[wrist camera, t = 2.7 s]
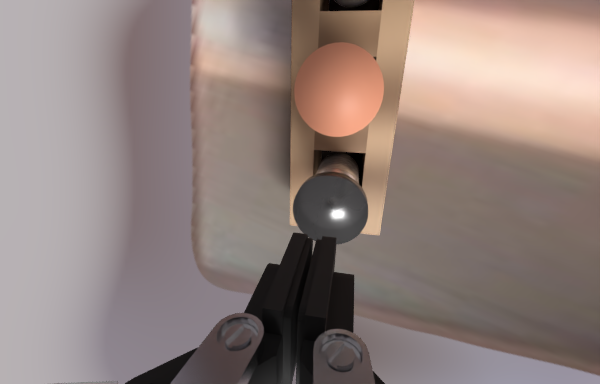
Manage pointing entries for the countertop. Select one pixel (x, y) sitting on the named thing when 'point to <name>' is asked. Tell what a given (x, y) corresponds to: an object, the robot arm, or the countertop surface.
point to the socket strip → (380, 131)
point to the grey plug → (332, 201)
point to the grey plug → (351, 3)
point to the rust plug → (339, 89)
